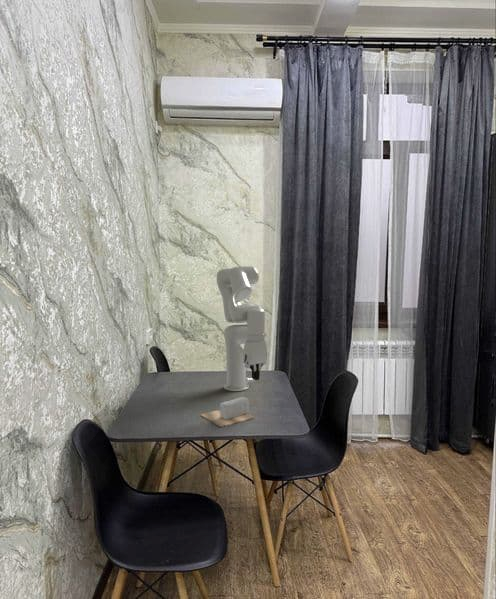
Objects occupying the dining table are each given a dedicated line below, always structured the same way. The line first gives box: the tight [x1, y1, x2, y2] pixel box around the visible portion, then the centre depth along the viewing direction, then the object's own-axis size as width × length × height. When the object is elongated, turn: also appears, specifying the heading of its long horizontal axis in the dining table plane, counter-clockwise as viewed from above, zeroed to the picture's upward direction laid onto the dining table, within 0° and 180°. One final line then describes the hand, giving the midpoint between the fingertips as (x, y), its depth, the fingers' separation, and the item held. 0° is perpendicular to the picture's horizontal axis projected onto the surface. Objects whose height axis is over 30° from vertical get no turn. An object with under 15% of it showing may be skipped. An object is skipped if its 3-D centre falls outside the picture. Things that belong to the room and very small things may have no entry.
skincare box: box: [219, 396, 250, 420], centre depth 185 cm, size 6×4×12 cm
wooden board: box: [200, 409, 255, 428], centre depth 184 cm, size 16×16×1 cm
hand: (255, 379), depth 193 cm, fingers closed
